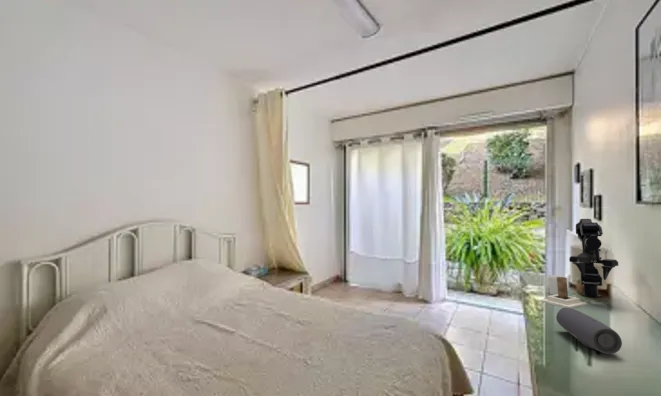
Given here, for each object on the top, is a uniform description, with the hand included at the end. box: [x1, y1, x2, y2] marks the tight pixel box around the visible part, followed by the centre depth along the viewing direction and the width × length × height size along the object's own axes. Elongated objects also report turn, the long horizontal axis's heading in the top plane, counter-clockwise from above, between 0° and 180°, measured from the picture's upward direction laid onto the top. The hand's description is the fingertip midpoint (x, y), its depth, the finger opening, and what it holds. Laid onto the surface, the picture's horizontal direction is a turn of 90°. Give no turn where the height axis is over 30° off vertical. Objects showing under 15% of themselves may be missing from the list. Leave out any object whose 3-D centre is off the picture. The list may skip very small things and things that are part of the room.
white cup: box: [547, 275, 563, 295], centre depth 173 cm, size 8×8×10 cm
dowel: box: [557, 276, 569, 300], centre depth 157 cm, size 4×4×13 cm
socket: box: [540, 294, 588, 309], centre depth 157 cm, size 14×14×3 cm
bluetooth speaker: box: [556, 307, 623, 355], centre depth 110 cm, size 23×9×10 cm, turn 168°
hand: (593, 278), depth 154 cm, fingers open, 9 cm apart
